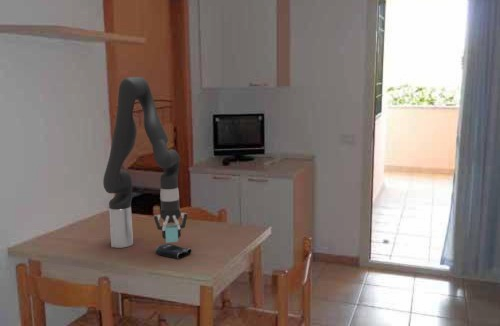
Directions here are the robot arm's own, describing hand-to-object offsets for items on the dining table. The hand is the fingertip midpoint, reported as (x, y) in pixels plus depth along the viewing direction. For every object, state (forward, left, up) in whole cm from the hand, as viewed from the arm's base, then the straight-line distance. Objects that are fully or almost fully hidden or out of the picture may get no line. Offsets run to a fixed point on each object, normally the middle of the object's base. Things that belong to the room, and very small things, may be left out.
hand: (171, 238), depth 207 cm
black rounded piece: (0, 0, -7) cm, 7 cm away
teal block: (0, 0, -1) cm, 1 cm away
